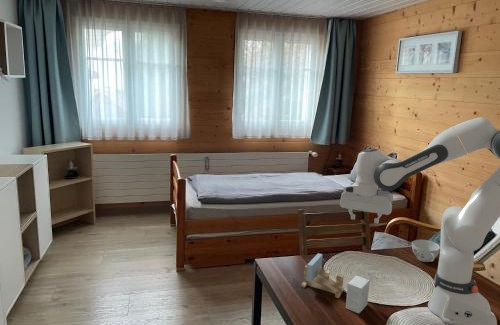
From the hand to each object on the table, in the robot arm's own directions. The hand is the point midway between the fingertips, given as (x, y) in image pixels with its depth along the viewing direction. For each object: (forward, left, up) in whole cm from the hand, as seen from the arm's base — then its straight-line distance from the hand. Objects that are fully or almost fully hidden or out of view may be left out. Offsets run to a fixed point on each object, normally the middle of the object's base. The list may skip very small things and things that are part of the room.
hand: (364, 221), depth 154 cm
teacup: (-22, -38, -28) cm, 53 cm away
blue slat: (+16, +12, -23) cm, 30 cm away
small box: (-4, +18, -28) cm, 34 cm away
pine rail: (+12, +13, -28) cm, 33 cm away
